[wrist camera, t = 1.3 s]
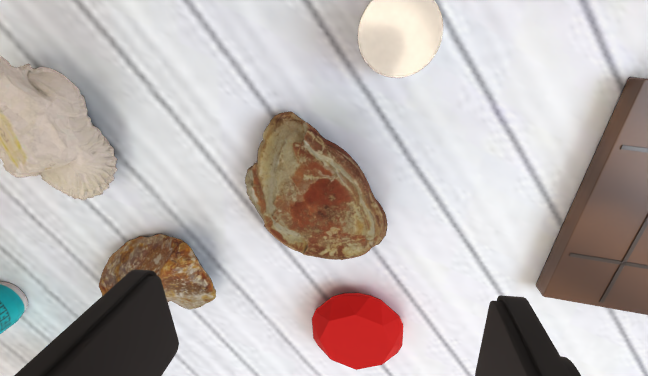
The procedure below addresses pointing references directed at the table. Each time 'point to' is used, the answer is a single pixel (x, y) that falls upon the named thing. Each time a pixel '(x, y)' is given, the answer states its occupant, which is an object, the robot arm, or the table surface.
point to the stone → (313, 193)
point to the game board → (608, 218)
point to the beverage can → (11, 305)
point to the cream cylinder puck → (400, 35)
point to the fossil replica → (51, 132)
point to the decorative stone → (162, 269)
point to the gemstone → (357, 330)
